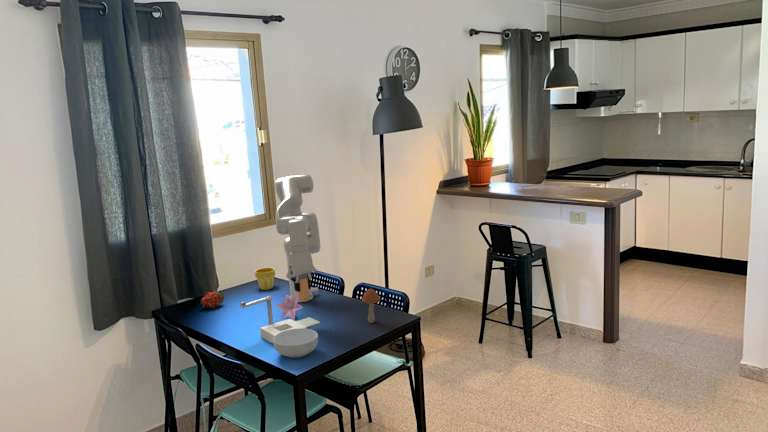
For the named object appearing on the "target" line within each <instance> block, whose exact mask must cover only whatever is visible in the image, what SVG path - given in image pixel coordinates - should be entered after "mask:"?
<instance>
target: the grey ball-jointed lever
mask: <svg viewBox="0 0 768 432" xmlns="http://www.w3.org/2000/svg"><path fill="white" fill-rule="evenodd" d="M268 300H271V301H272V300H273V297H272V296H271V295H268V296H265V297H262V298H260V299H256V300H253V301H250V302H245V301H241V302H239V305H240V308H241V309H245V308H249V307H252V306H254V305H257V304H260V303H261V304H262V303H263V302H267V301H268Z"/></svg>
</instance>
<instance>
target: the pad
mask: <svg viewBox="0 0 768 432" xmlns="http://www.w3.org/2000/svg"><path fill="white" fill-rule="evenodd" d="M295 321H296V322H298V323H300V324H302V325H304V326H306V327H307V329H309V328H310V327H311V328H312V327H313V326H316V325H320V324H321V321H319V320H316V319H314V318H312V317H310V316H309V317H305V318H303V319H299V320H295Z"/></svg>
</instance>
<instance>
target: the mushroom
mask: <svg viewBox="0 0 768 432" xmlns="http://www.w3.org/2000/svg"><path fill="white" fill-rule="evenodd" d="M380 301H381V298H380V296H379V294H378V292H377V291H376V290H374V289H373V288H371V287H370V288H369V289H367V290H366V291H365V293H364V294H363V295H362V298H361V302H363V303H365V304H368V315H367V322H368V323H370V324H374V322H375V321H376V320H375V303H379V302H380Z"/></svg>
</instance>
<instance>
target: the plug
mask: <svg viewBox="0 0 768 432" xmlns="http://www.w3.org/2000/svg"><path fill="white" fill-rule="evenodd" d="M298 282H299V283H300V292H298V299H299V302H298V303H304V302H305V303H306V302H309V301H310V300H309V289H308V278H307V273H306V274H302V275H300V276H299V279H298Z"/></svg>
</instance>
